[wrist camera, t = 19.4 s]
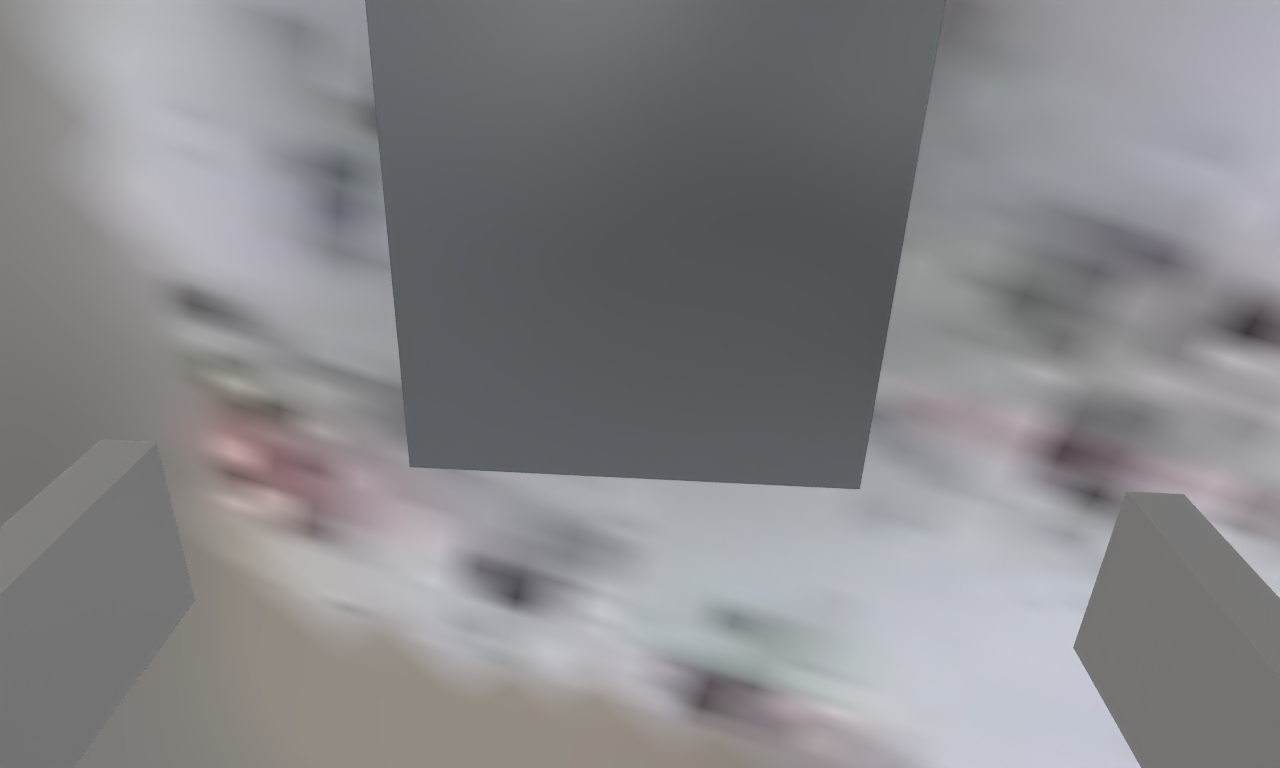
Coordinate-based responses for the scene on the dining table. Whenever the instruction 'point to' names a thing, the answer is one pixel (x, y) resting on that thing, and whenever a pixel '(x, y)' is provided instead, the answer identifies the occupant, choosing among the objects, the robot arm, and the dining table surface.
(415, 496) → the dining table surface
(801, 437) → the smooth grey cube
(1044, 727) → the dining table surface
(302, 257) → the dining table surface
